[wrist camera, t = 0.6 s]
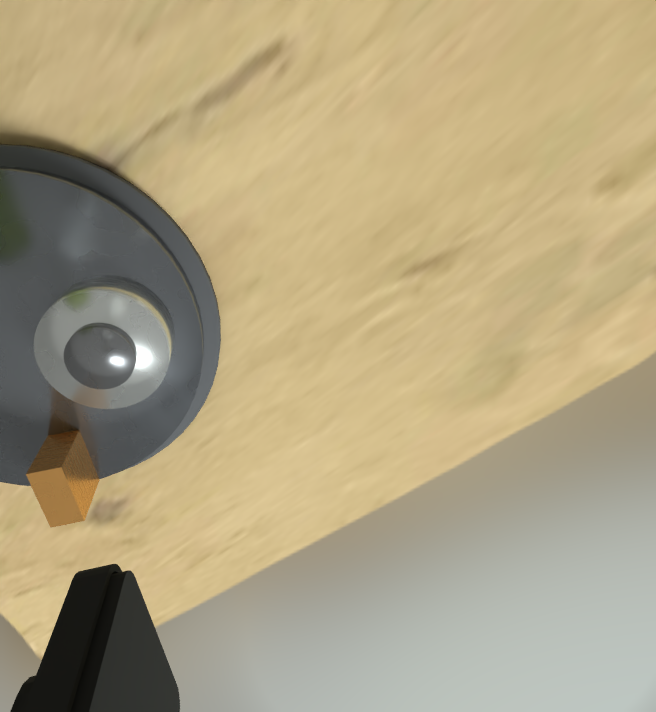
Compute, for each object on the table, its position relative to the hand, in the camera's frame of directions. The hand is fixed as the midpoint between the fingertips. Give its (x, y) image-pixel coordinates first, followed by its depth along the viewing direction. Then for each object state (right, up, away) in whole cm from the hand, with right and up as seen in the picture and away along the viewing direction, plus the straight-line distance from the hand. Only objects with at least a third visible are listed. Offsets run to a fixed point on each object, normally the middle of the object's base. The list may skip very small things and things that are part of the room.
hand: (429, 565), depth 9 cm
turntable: (-19, +5, +25) cm, 32 cm away
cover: (-14, +5, +24) cm, 28 cm away
